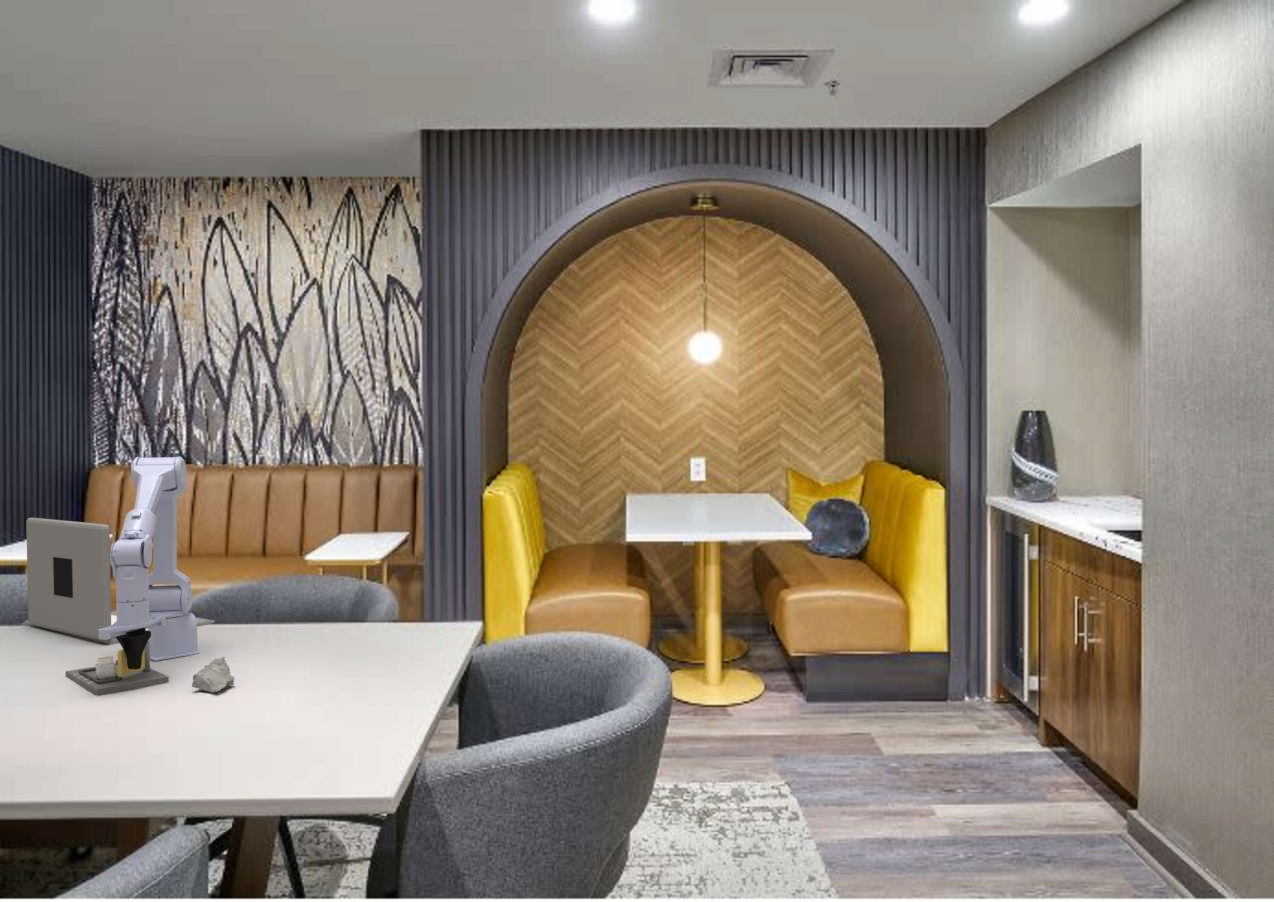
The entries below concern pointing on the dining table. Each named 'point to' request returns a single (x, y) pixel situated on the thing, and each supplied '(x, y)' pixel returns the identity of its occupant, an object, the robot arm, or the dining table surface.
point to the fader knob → (105, 669)
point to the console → (118, 678)
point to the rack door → (123, 666)
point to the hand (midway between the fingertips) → (134, 668)
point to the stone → (213, 676)
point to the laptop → (71, 578)
